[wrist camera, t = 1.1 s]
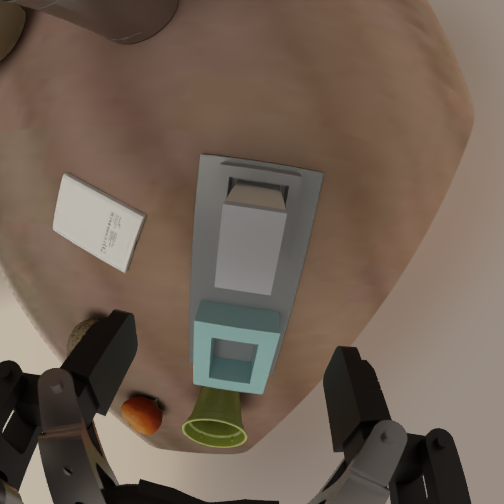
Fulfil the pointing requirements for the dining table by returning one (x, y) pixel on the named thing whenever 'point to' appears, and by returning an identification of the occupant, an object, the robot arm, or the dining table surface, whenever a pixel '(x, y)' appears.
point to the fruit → (142, 414)
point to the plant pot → (216, 419)
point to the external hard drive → (97, 222)
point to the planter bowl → (10, 26)
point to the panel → (239, 302)
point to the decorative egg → (78, 334)
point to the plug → (250, 237)
